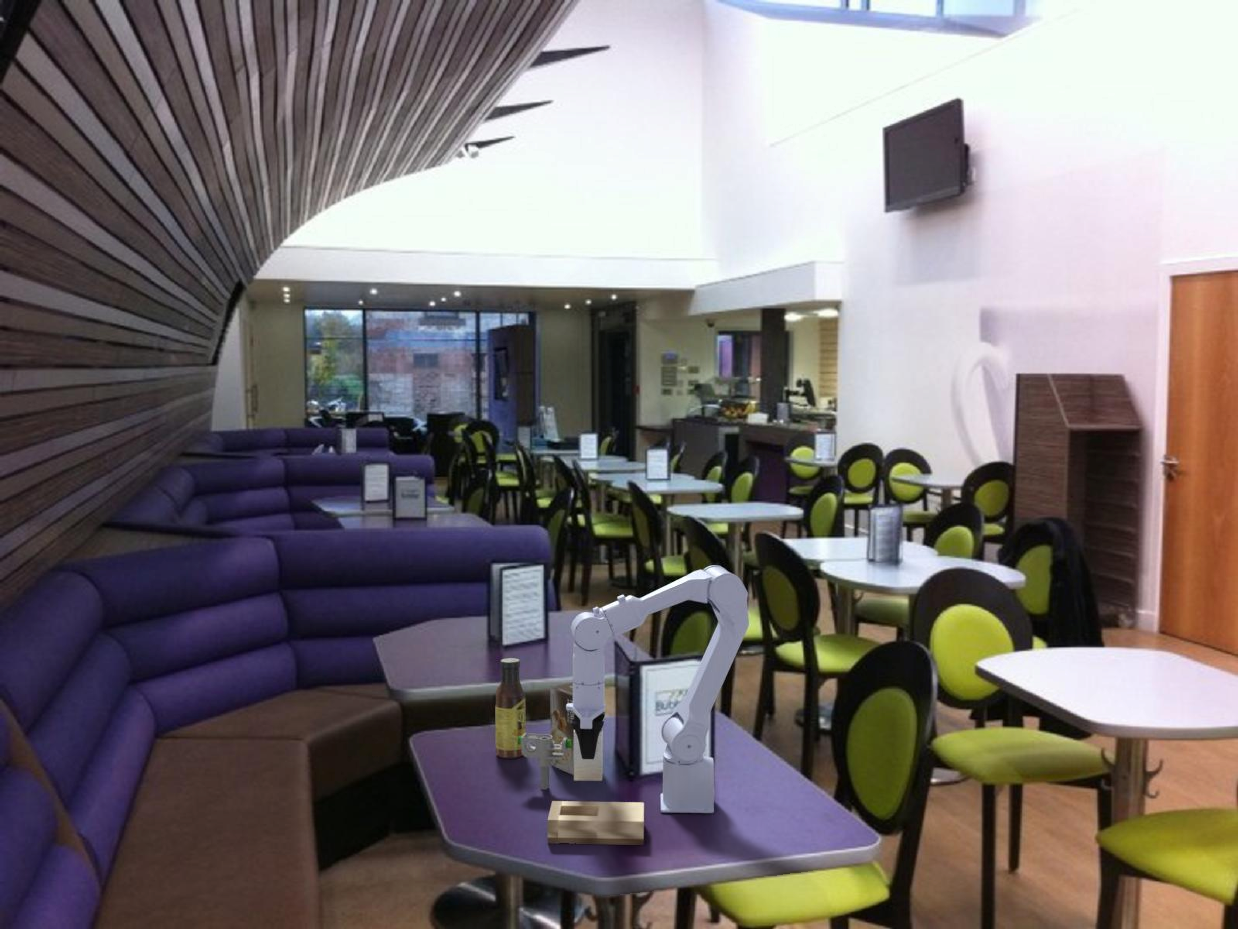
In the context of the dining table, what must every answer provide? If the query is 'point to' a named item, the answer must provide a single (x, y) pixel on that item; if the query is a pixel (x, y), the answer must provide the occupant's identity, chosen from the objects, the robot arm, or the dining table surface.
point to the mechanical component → (543, 752)
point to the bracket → (588, 762)
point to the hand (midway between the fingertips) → (588, 755)
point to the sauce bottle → (509, 710)
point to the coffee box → (562, 724)
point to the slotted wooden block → (596, 823)
